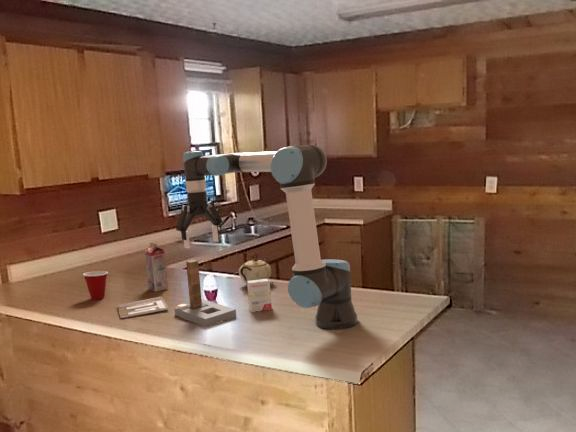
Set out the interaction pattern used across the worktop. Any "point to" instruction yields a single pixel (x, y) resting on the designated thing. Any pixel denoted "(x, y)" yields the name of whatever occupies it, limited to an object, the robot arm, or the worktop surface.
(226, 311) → the grey flat block
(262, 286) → the ink box
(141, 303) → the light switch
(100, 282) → the plastic cup
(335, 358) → the worktop surface
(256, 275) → the sugar bowl
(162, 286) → the juice carton
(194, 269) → the walnut rod
